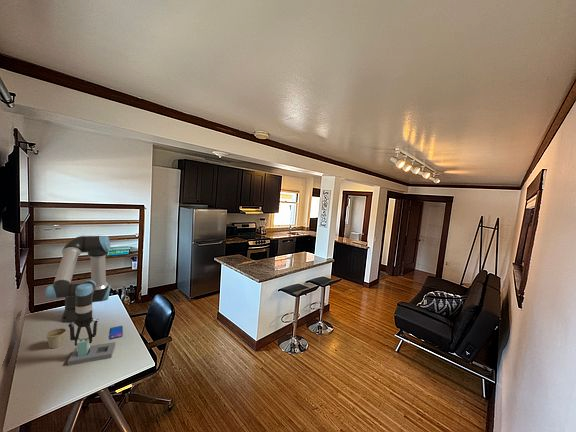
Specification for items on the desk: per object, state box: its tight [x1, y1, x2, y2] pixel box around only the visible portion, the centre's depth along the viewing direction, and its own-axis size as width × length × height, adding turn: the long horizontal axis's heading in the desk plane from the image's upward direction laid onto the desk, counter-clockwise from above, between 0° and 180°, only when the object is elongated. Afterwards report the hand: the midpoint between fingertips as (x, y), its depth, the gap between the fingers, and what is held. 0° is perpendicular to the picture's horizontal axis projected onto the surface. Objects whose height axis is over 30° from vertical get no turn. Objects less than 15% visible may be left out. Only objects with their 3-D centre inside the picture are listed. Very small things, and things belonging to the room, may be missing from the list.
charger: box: [78, 337, 89, 356], centre depth 142 cm, size 4×4×9 cm
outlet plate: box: [67, 341, 116, 366], centre depth 145 cm, size 12×20×2 cm, turn 116°
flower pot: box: [45, 327, 67, 349], centre depth 150 cm, size 9×9×9 cm
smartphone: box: [109, 325, 124, 340], centre depth 168 cm, size 7×1×15 cm
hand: (83, 349), depth 143 cm, fingers closed on charger, 4 cm apart
